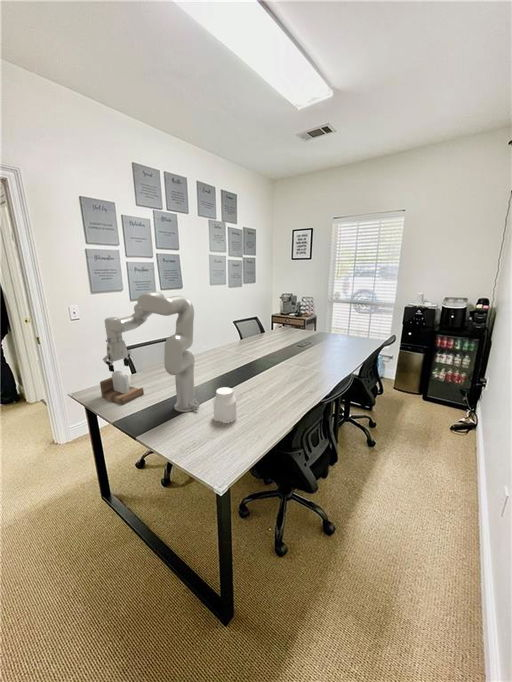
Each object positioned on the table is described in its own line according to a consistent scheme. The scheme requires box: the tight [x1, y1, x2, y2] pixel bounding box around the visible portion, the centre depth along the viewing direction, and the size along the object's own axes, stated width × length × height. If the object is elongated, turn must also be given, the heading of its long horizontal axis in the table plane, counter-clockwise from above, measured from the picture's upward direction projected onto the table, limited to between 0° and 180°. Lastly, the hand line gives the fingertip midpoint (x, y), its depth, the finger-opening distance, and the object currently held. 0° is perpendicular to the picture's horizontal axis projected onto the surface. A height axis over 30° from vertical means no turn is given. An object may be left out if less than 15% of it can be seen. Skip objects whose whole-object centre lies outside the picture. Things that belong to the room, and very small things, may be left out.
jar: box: [212, 386, 238, 424], centre depth 140 cm, size 12×10×15 cm
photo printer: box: [111, 370, 130, 394], centre depth 162 cm, size 10×4×12 cm, turn 62°
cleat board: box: [99, 376, 145, 405], centre depth 163 cm, size 18×14×10 cm
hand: (119, 368), depth 160 cm, fingers open, 9 cm apart
